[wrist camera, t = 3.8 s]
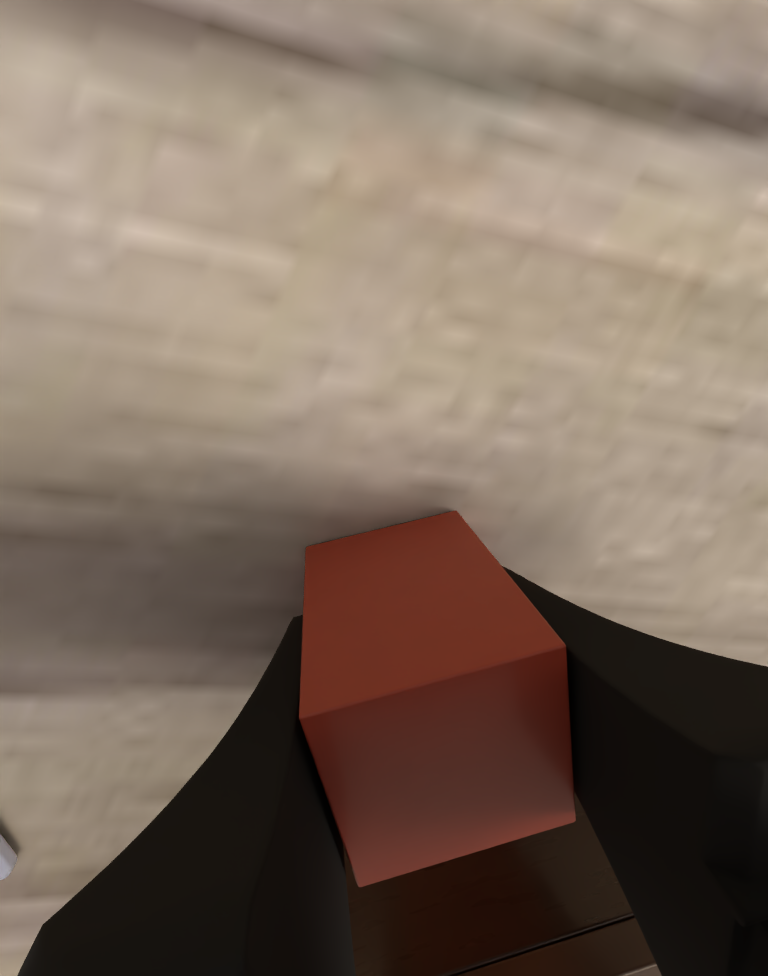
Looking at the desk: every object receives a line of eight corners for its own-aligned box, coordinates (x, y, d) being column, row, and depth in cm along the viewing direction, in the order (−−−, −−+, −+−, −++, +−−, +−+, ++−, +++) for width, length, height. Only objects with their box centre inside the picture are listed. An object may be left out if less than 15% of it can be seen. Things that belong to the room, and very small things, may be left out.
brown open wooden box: (377, 956, 18) (407, 1254, 12) (312, 775, 14) (310, 1081, 8) (644, 871, 19) (792, 1111, 13) (650, 679, 15) (862, 895, 9)
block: (340, 668, 13) (357, 889, 8) (305, 546, 12) (297, 718, 6) (474, 632, 13) (577, 823, 8) (456, 509, 12) (566, 644, 7)
